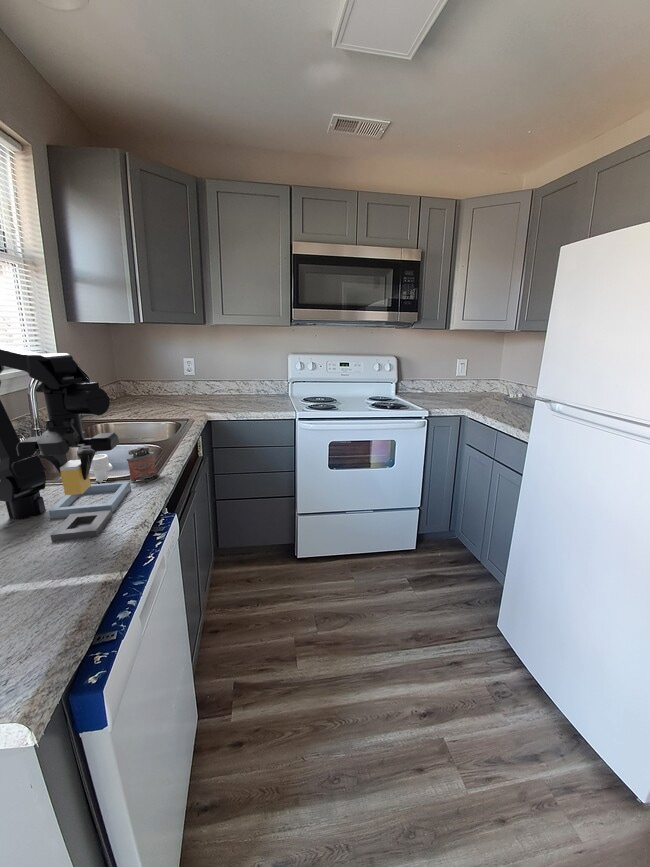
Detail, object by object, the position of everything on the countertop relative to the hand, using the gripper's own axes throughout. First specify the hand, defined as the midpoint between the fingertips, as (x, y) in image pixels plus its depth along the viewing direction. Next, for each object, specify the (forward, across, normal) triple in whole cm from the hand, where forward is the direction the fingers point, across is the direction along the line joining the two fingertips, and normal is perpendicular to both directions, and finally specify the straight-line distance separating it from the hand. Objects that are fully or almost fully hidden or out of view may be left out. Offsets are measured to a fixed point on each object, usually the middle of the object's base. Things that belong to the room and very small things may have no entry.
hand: (76, 479), depth 91 cm
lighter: (+12, +5, +31) cm, 33 cm away
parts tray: (+12, -2, +12) cm, 17 cm away
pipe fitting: (+12, -7, +30) cm, 33 cm away
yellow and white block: (+2, 0, 0) cm, 2 cm away
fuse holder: (+12, +1, -2) cm, 12 cm away
